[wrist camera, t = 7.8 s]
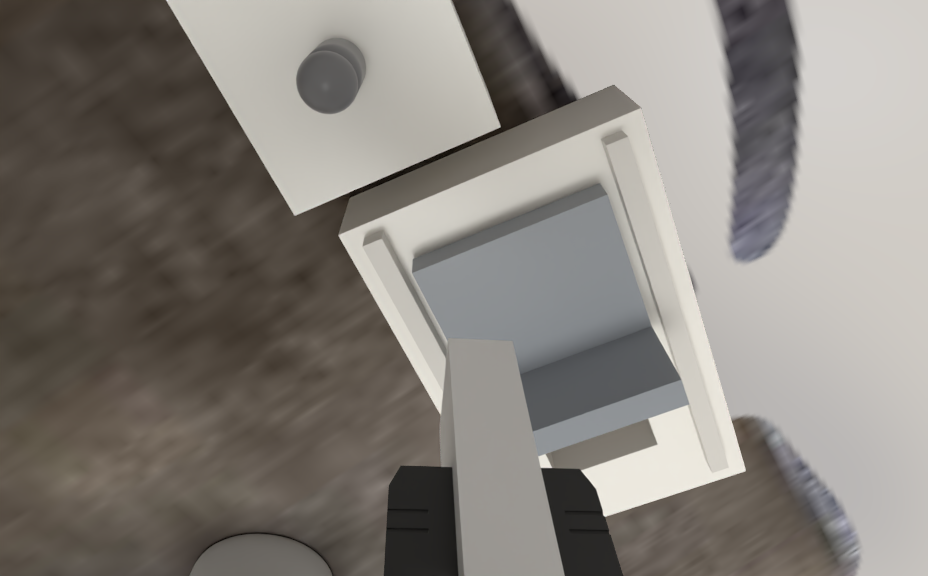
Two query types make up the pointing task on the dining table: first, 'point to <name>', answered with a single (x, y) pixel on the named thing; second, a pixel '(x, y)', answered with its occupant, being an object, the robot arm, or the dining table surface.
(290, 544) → the mug
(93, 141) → the dining table surface
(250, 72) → the plug
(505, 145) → the cream railed base block
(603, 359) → the grey l-shaped bracket
